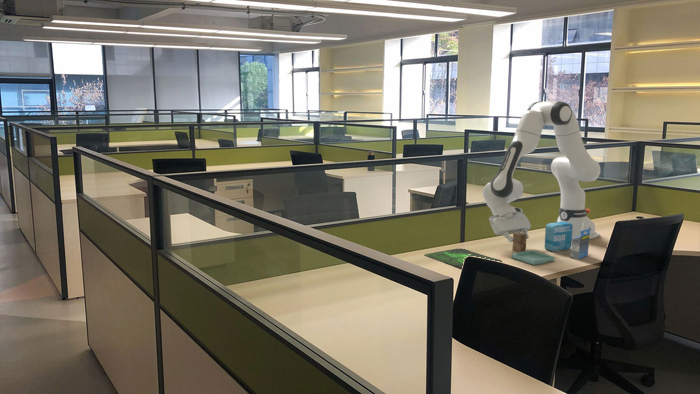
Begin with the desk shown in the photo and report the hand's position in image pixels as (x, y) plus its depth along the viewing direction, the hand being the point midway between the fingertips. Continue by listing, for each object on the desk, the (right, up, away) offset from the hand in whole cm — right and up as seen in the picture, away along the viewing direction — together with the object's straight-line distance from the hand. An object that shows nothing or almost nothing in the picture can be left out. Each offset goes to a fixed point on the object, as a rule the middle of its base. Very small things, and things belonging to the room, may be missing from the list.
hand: (519, 239), depth 253 cm
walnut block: (0, -5, +1) cm, 5 cm away
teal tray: (+1, -7, -13) cm, 15 cm away
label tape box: (+23, -7, -8) cm, 26 cm away
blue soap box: (+18, -5, +4) cm, 19 cm away
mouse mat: (-28, -8, -11) cm, 31 cm away
